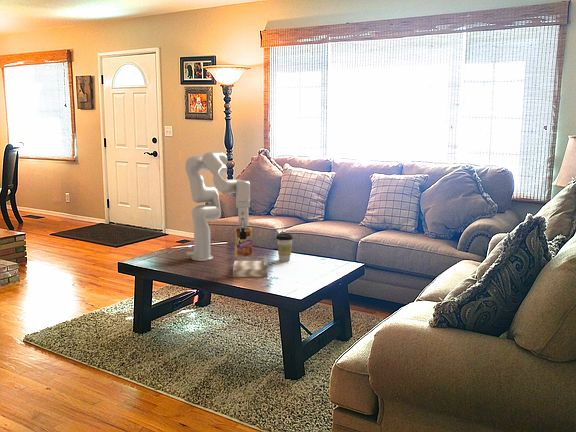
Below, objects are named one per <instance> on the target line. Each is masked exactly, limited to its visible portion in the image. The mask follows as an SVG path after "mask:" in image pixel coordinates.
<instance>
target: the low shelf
mask: <svg viewBox="0 0 576 432" xmlns="http://www.w3.org/2000/svg"><path fill="white" fill-rule="evenodd" d="M232 267H233V268H232V277H234V278H235V277H237V278H238V277H239V278H241V277H242V278H243V277H244V278H245V277H252V278H253V277H255V278H256V277H264V278H265V277H268V256H267V255H266V256H265V255H264V256H263V260H234V263H233V266H232Z"/></svg>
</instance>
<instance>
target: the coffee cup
mask: <svg viewBox="0 0 576 432" xmlns="http://www.w3.org/2000/svg"><path fill="white" fill-rule="evenodd" d="M275 239H276V245H277V254H278V260H279V262H284V263H285V262H287V263H288V262H290V261H291V254H292V248H293V239H294V237H293V235H292V234H291V233H290V234H289V233H279V234H277V236H276V238H275Z"/></svg>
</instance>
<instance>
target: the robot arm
mask: <svg viewBox="0 0 576 432" xmlns="http://www.w3.org/2000/svg"><path fill="white" fill-rule="evenodd" d="M228 161H229V160H228V156H227V155H226V154H225V153H224V152H222V151H208V152H205V153H204V154H203V155H194V156H190V157H188V158H187V159H186V160H185V164H184V165H185V168H184V169H185V173H186V176H187V178H188V182H189V189H190V194H191V199H192V201H193V203H195V204H201V205H195V206H194V207H193V208H192V210H191V218H192V223H193V250H192V251H186V255H187V256H191V260H193V261H198V262H204V261H210V260H213V259H214V256H213V254H212V253H211V227H210V225H209V223H208V222H210V221H217V220H219V219H220V218H221V216H222V209H221V208H222V207H221V203H220V202H221V201H220V196H219V192H220V193H221V194H224V195H230V194H235V208H238V209H237V210H238V211H237V215H238V217H237V219H238V226H239V228H240V239H246V227H249V223H250V222H249V220H250V219H249V215H250V214H249V211H250V210H249V208H251V183H250V181H249V180H243V179H241V178H240V179H239V178H234V179H233V178H232V179H224V176H226V174H227V172H228V166H227V164H228ZM200 171H209V172H210V173H211V174H212V182H213V185H206V184H205V178H204V177H203V174H201V173H200ZM203 203H208V204H203Z"/></svg>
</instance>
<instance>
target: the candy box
mask: <svg viewBox="0 0 576 432" xmlns="http://www.w3.org/2000/svg"><path fill="white" fill-rule="evenodd" d="M252 256H253V228H252V227H249V226H246V239H240V227H234V257H252Z"/></svg>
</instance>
